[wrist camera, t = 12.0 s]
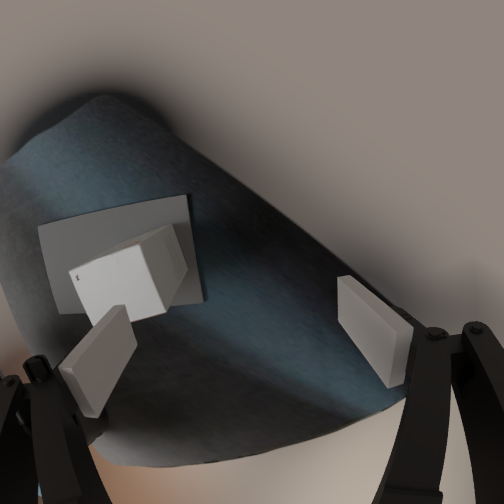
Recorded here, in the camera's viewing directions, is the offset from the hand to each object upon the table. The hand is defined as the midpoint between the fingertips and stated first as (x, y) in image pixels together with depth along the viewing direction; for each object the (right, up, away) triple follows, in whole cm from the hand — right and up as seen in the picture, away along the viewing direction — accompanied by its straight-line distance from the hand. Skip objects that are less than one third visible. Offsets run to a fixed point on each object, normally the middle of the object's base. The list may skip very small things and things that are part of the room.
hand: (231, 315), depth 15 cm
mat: (-18, +2, +19) cm, 27 cm away
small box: (-11, +3, +19) cm, 23 cm away
